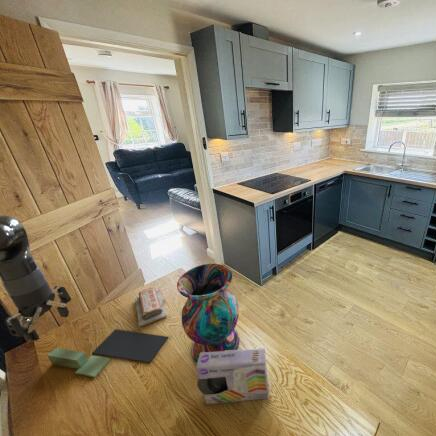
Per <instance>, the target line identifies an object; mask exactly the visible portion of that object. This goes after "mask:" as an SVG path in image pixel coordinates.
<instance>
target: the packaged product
mask: <svg viewBox="0 0 436 436" xmlns="http://www.w3.org/2000/svg"><path fill="white" fill-rule="evenodd" d="M163 300H164V299H163V296H162V293H161V290H157V289H156V288H155V287H149V288H146V289H143V290H140V291H138V296H137V297H135V298H134V301H135V309H136V315H137V320H138V323H137V324H138V326H139V327H140V328H142V327H144V326H147V325H150V324H151V323H153V322H156V321H159V320H162V319H164V318H167V317H168V315H167V311H166V307H165V303H164V301H163Z"/></svg>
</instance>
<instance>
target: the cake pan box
mask: <svg viewBox="0 0 436 436" xmlns="http://www.w3.org/2000/svg"><path fill="white" fill-rule="evenodd" d="M267 366H268V365H267V357H266V348H264V347H263V348H253V349H237V350H225V351H220V352H201V353H200V355H199V359H198V362H197V361H196V367H195V369H196V373H197V376H198V380H197V381H196V382H197V384H196V385H197V388H198V390H199V391H200V393H202V394H203V397H204V400H205V404H206V405H212V404H221V403H233V402H234V403H235V402H243V401H244V402H245V401H257V400H258V401H259V400H267V399H269V378H268V367H267Z"/></svg>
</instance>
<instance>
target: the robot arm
mask: <svg viewBox="0 0 436 436" xmlns="http://www.w3.org/2000/svg"><path fill="white" fill-rule="evenodd" d="M27 233H28V232H27V230H26V228H25V226H24V225H23V223H21V221H20V220H19V219H17V218H15V217H13V216H10V215H1V214H0V281H1V284H2V287H3V289H4V290H5V291H6V293H7V295H8V296H9V298H10V300H11V301H12V303H13V305H14V306H15V307H16V309H17V313H16V314H15V315H12V316H11V317H10V316H7V317H6V318H4V323H5V325H6V327H7V329H8V331H9V332H10V334H11V336H13V337H19V338H21V337H24V336H25V337H26V339H27V341H33V342H34V341H35V342H37V341H39V340H40V339H41V338H40V336H39V335H38V333H37V331H36V329H34V328H35V325H36V324H37V323H38V320H39V318H40V317H42V316H43V315H45V314H46V313H47V312H49V311H51V310H52V307H56V310H57V312H58V314H59V316H60V317H62V318H68V317H69V316H70V315H69V314H70V310H69V308H68V307H67V305H68V303H69V302H71V301H72V298H71V296H70V294H69V292H68V291H67V289H66V287H65V286H61V285H60V286H59V285H56V286H54V287H53V290H52V288H51V286H50V284H49V282H48V279H46V276H45V274H44V272H43V271H42V270H41V268H39V266H38V264H37V262H36V259H35V258H34V257H33V255H32V252H31V246H30V242H29V237H28V234H27ZM56 296H58V298H59V300H60V301H55V298H56ZM21 318H22V320H21ZM30 318H31V319H30Z"/></svg>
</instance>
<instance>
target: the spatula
mask: <svg viewBox="0 0 436 436" xmlns="http://www.w3.org/2000/svg"><path fill="white" fill-rule="evenodd" d="M47 358H48V359H49V361H50V363H51V364H52V365H54V366H59V367H66V368H69V369H70V368H72V369H77V370H76V371H75V372H74V374H75V375H79V376H84V377H89V378H90V377H91V378H96V377H97V376H98V375H99V374H100V372H102V370H103V369H104V368H105V367H106V366H107V365H108V363H109V362H110V361H111V357H106V356H100V355H90V356H89V357H88V356H87V354H86V352H84V351H78V350H71V349H65V348H59V347H55V348H54V349H53V350H52V351H50V352H49V353H48V354H47Z"/></svg>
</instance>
